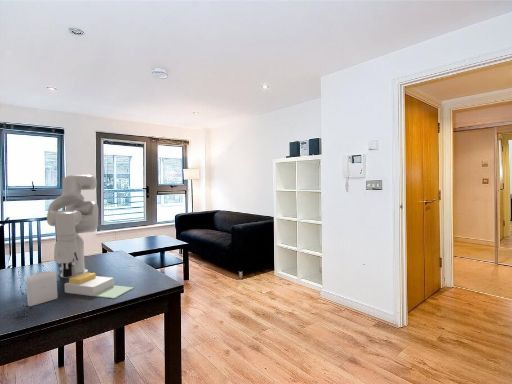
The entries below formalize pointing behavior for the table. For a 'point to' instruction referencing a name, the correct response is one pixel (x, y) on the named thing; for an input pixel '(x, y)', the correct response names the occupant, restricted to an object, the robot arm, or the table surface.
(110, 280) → the plate
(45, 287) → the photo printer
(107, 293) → the mat
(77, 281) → the tile
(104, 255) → the table surface
